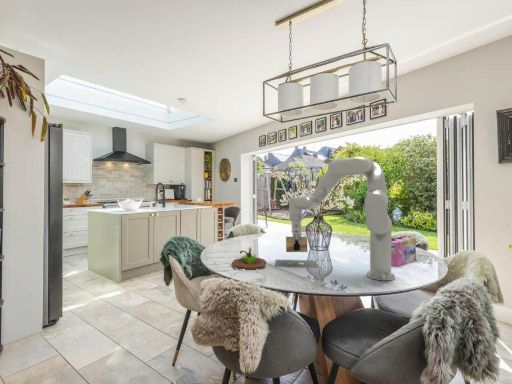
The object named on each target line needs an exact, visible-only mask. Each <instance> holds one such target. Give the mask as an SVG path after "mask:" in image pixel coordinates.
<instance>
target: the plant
mask: <svg viewBox="0 0 512 384" xmlns="http://www.w3.org/2000/svg"><path fill="white" fill-rule="evenodd" d="M239 253H240V254H243V253H244V254H243V255H240V258H235V259H233V261H231V266H232V265H233V266H234V267H235V268H237V269H245V270H255V271H257V270H256V269H258V270H264V269H266V264H267V260H265V259H264V258H261V257H258V256H257V254H256V253H254V254H253V255H252V247H250V246H249V247H248V252H247V251H245V250H241V251H239ZM233 266H232V267H233ZM234 267H233V268H234Z"/></svg>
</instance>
